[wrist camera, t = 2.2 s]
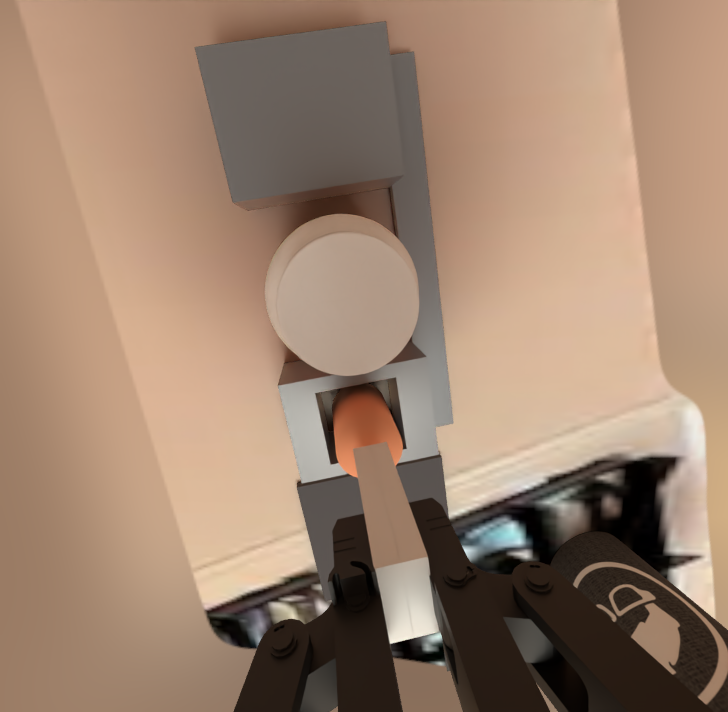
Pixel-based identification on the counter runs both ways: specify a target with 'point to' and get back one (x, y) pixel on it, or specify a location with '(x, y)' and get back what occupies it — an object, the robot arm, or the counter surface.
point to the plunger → (362, 424)
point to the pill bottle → (343, 294)
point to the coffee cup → (650, 612)
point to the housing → (334, 178)
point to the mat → (359, 504)
